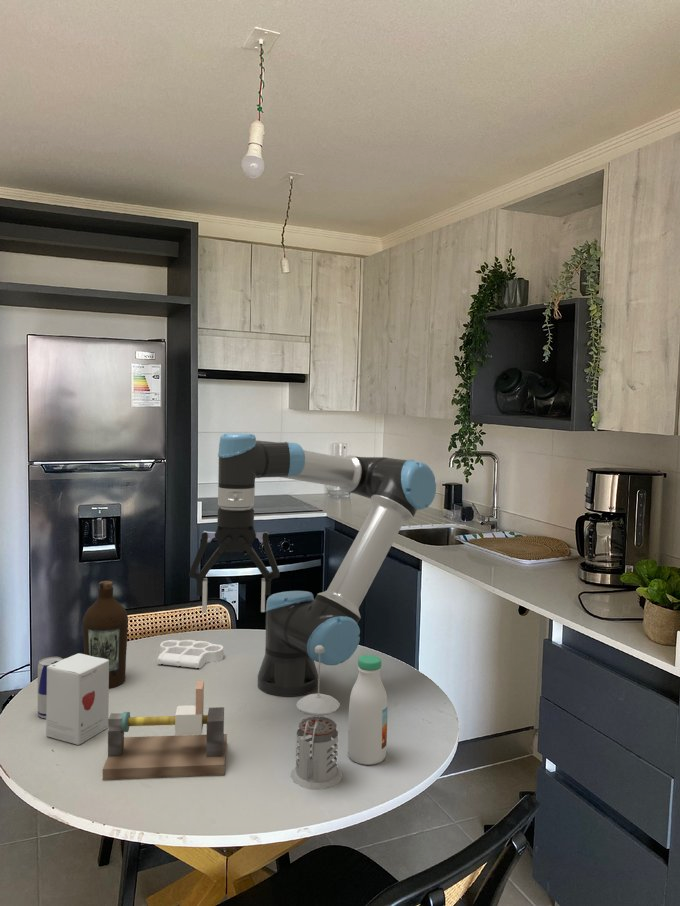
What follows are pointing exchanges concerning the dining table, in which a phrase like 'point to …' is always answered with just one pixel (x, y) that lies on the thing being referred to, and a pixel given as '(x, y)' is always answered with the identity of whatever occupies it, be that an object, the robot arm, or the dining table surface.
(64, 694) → the supplement box
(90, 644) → the olive oil
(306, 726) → the french press
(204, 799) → the dining table surface
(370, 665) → the milk bottle
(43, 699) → the energy drink
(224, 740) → the axle on two posts
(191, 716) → the cube with tan panel
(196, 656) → the white brass knuckles
